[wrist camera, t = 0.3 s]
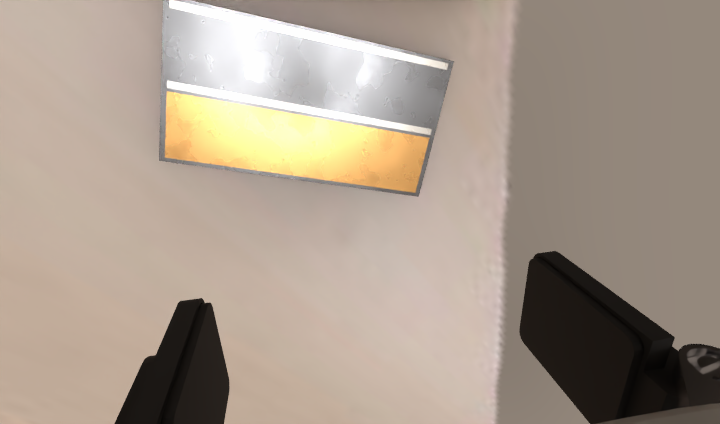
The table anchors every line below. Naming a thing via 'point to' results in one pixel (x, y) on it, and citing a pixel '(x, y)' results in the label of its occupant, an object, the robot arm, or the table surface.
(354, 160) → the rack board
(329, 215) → the table surface
